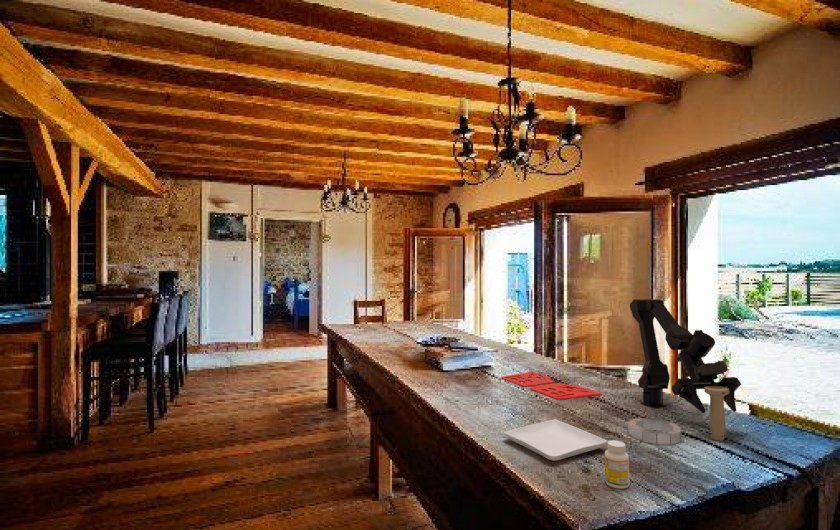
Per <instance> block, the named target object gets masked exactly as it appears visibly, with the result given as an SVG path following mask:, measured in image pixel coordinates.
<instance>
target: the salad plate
mask: <svg viewBox="0 0 840 530" xmlns="http://www.w3.org/2000/svg"><path fill="white" fill-rule="evenodd" d="M503 434H504V435H505V437H506V438H508V439H509V440H510V441H513V442H514V443H516V444H517V445H521V446H522V447H524V448H526V449H528V450H530V451H532V452H534V453H536V454H537V455H539V456H542V457H544V458H546V459H547V460H549V461H556V462H557V461H560V460H564V459H567V458H569V457H570V458H571V457H574V456H577V455H581V454H584V453H588V452H590V451H594V450H598V449H600V448H603V447H604V446H605V445H607V442H608V440H606V439H604V438H603V437H600V436H597V435H595V434H593V433H590V432H589V431H585V430H583V429H581V428H579V427H576V426H574V425H571V424H570V423H569V424H568V423H567V422H563V421H561V420H559V419H555V418H554V419H550V420H546V421H541V422H537V423H533V424H528V425H525V426H521V427H517V428H513V429H509V430H508V429H507V430H505V431H503Z"/></svg>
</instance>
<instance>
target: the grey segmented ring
mask: <svg viewBox="0 0 840 530" xmlns="http://www.w3.org/2000/svg"><path fill="white" fill-rule="evenodd" d="M627 433H628V434H629V435H630V437H631V438H633V439H635V440H636V441H640V442H642V443H648V444H653V445H661V446H663V445H664V446H665V445H666V446H667V445H675V444H676V445H677V444H679V443H681V442H682V437H683V436H682V427H680V426H679V424H676V423H674V422H670V421H667V420H664V419H658V418H652V417H651V418H650V417H648V418H647V417H639V418H637V417H636V418H633V419H630V420H629V421H628V422H627Z"/></svg>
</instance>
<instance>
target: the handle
mask: <svg viewBox="0 0 840 530" xmlns="http://www.w3.org/2000/svg"><path fill="white" fill-rule="evenodd" d="M703 391H704V392H705V394H707V395H709V398H710V399H709V423H708V424H709V429H710V430H709V431H710V433H711V434H710V437H711V439H712V440H714V441H720V442H723V440H725V433H726V415H725V404H724V403H725V401H724V396H725V395H727V394H729V389H728V388H726V387H721V386H707V387H704V389H703Z"/></svg>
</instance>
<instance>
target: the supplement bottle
mask: <svg viewBox="0 0 840 530" xmlns="http://www.w3.org/2000/svg"><path fill="white" fill-rule="evenodd" d="M606 445H607V449H606V450H605V451H604V481H605V483H606V484H607V485H608V486H609V487H611V488H614V489H618V490H619V489H627V488H629V486H630V456H629V454H628V453H627V451H626V450H627V449H626V448H627V447H626V445H627V444H626V443H624V442H623V441H621V440H616V439H615V440H613V439H612V440H607V443H606Z"/></svg>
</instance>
